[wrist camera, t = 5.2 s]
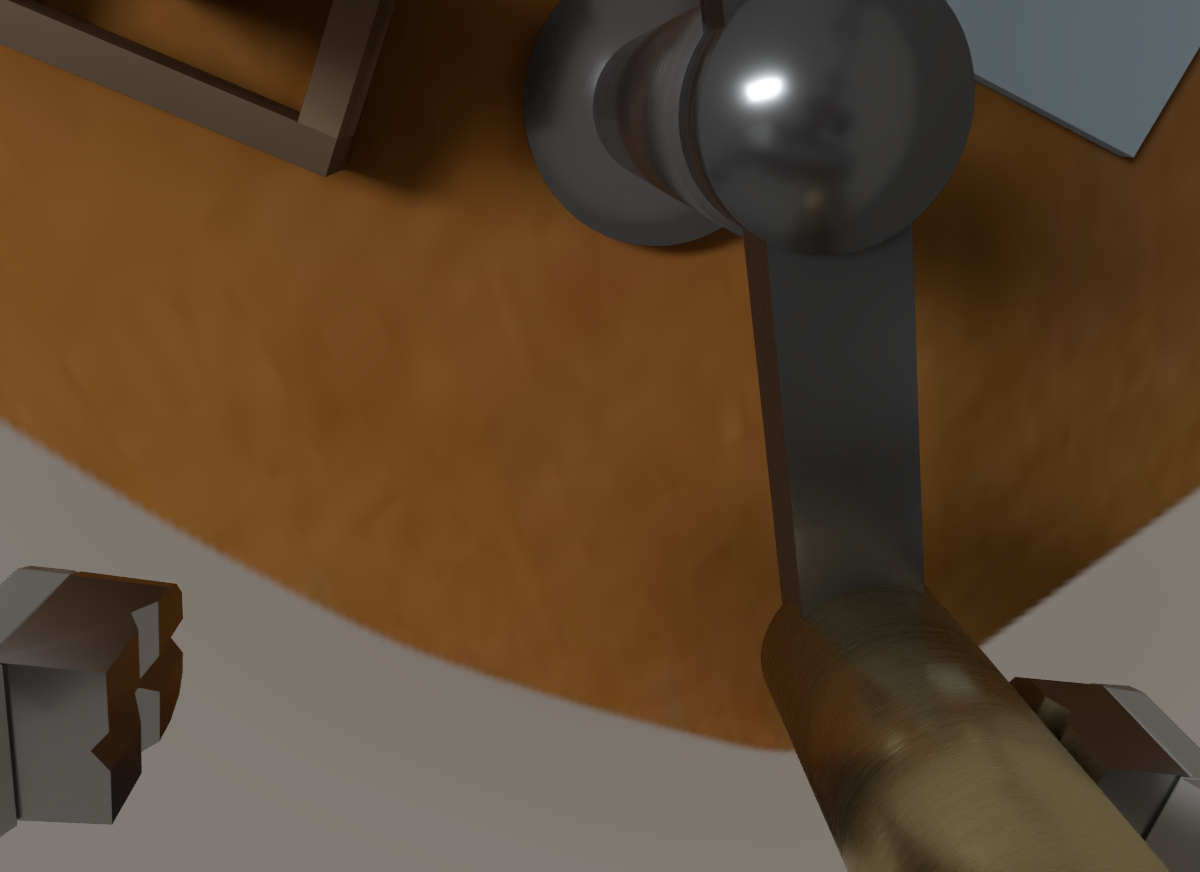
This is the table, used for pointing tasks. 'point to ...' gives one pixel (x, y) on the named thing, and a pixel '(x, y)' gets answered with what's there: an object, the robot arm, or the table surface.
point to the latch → (870, 440)
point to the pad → (1084, 60)
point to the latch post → (618, 118)
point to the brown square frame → (306, 138)
